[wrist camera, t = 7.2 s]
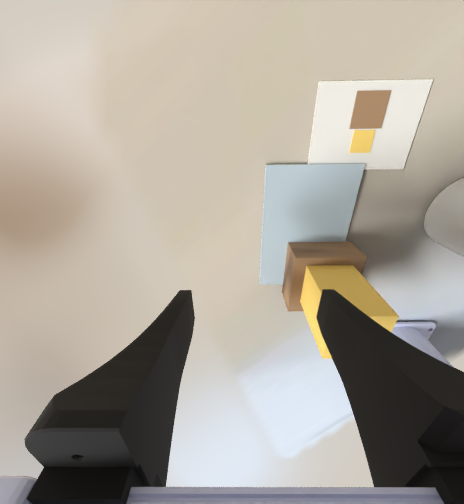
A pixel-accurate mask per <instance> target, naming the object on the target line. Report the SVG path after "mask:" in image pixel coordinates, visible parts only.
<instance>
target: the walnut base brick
mask: <svg viewBox="0 0 464 504" xmlns="http://www.w3.org/2000/svg"><path fill="white" fill-rule="evenodd" d="M366 259H367V257H366V256H365V255H364V254H363V253H362V252H361V251H360V250H359V249H358V248H357V247H356V246H355V245H354V244H353V243H352V242H288V246H287V254H286V263H285V271H284V280H283V288H282V293H283V296H284V300H285V303H286V306H287V309H288V311H304V310H303V308H302V305H301V303H300V299H301V294H302V288H303V282H304V277H305V271H306V266H324V265H353V266H354V267H355V268H356V269H357V270H358V271H359V272H360V274H361V275H362V272H363V269H364V266H365V262H366Z"/></svg>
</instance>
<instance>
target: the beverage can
mask: <svg viewBox="0 0 464 504" xmlns="http://www.w3.org/2000/svg"><path fill="white" fill-rule="evenodd" d="M424 228H425V231H426V233H427V235H428V236H429V237H430V238H431V239H432V240H434V241H435V242H437V243H439V244H441V245H443V246H444V247H446V248H448V249H450V250H452V251H453V252H455V253H457V254H459V255H461V256H463V257H464V178H462V179H459V180H457V181H456V182H454V183H452V184H451V185H449V186H448V187H446V188H445V189H444V190H443V191H441V192H440V193H439V194H438V195H437V196H436V198H435V199H434V200H433V201H432V203H431V204H430V206H429V208H428V210H427V212H426V215H425V219H424Z"/></svg>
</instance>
